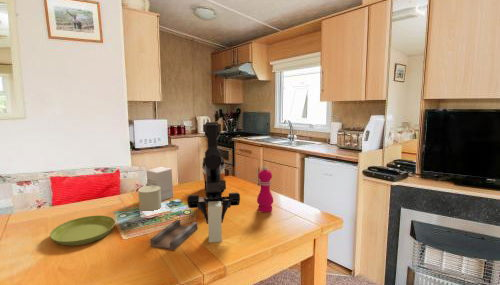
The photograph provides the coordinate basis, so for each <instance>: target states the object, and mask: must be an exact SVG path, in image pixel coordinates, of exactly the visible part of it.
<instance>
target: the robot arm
mask: <svg viewBox="0 0 500 285" xmlns="http://www.w3.org/2000/svg"><path fill="white" fill-rule="evenodd" d="M202 129H203V130H202V132H203V133H204V135H205V137H206V139H207V149H206V150H205V151H204V157H203V160H202V166H203V167H205V170H206V181H204V194H205V196H206V197H203V196H202V197H200V196H199V195H200V194H188V196H187V198H186V200H187V205H188V208H189V209H198V210H200V211H201V214H202V215H203V217H204V220H205V222H206V225H208V209H207V206H208V202H213V201H221V218H222V224H223V222H224V218H225V216H226V213H227V211H228V209H229V208H231V207H232V206H239V205H240V202H241V194H240V193H239V192H229V193H228V196H223V193H224V192H225V191H226V190H227V183H226V179H224V180H221V166H223V164H224V162H225V159H224V158H223V156H222V154H221V150H220V149H219V148H218V139H219V137H220V133H221V132H222V123H219V121H206V122H205V123H204V124H202Z"/></svg>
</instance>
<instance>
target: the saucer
mask: <svg viewBox="0 0 500 285" xmlns="http://www.w3.org/2000/svg"><path fill="white" fill-rule="evenodd" d="M115 225H116V220H115V219H114V217H111V216H108V215H88V216H83V217H78V218H75V219H71V220H68V221H66V222H63V223H62V224H59V225H58V226H56V227H54V228H53V229H52V230H51V232H50V234H49V238H51V240H53V241H54V242H56V243H58V244H60V245H63V246H68V247H70V246H71V247H72V246H73V247H75V246H83V245H86V244H91V243H93V242H96V241H98V240H101V239H102V238H104V237H106V236H107V235H108V234H109V233H111V231H112V230H113V228H114V227H115Z"/></svg>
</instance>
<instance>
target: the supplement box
mask: <svg viewBox="0 0 500 285" xmlns="http://www.w3.org/2000/svg"><path fill="white" fill-rule="evenodd" d="M172 171H173V169H172V168H168V167H165V166H159V167H154V168H150V169H146V171H145V172H146V182H147V186H159V187H160V188H161V189H160V190H161V202H163V201H166V200H168V199H171V198H173V197H174V187H173V186H174V185H173V172H172Z"/></svg>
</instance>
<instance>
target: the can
mask: <svg viewBox="0 0 500 285" xmlns="http://www.w3.org/2000/svg"><path fill="white" fill-rule="evenodd" d="M160 189H161V188H160V187H159V186H148V185H147V186H142V187H140V188H138V190H137V194H138V202H139V205H138V206H139V212H140V211H154V210H158V209H160V208H161V207H162V201H161V190H160Z"/></svg>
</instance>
